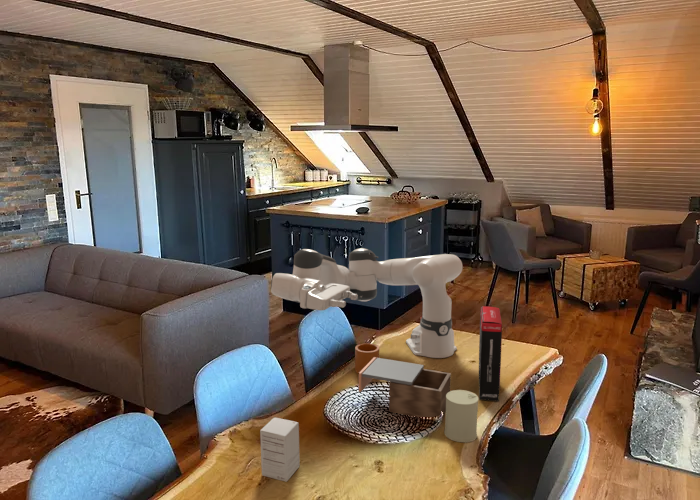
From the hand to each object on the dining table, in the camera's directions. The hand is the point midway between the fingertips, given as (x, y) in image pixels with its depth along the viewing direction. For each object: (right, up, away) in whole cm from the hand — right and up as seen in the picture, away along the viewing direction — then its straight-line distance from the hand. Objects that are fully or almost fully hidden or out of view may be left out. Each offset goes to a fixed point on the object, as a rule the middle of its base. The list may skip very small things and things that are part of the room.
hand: (350, 300), depth 178 cm
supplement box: (-18, -40, -39) cm, 58 cm away
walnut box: (+22, -33, -5) cm, 40 cm away
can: (+31, -37, -21) cm, 53 cm away
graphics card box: (+46, -31, +7) cm, 56 cm away
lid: (+13, -28, -2) cm, 31 cm away
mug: (+7, -28, +24) cm, 37 cm away
